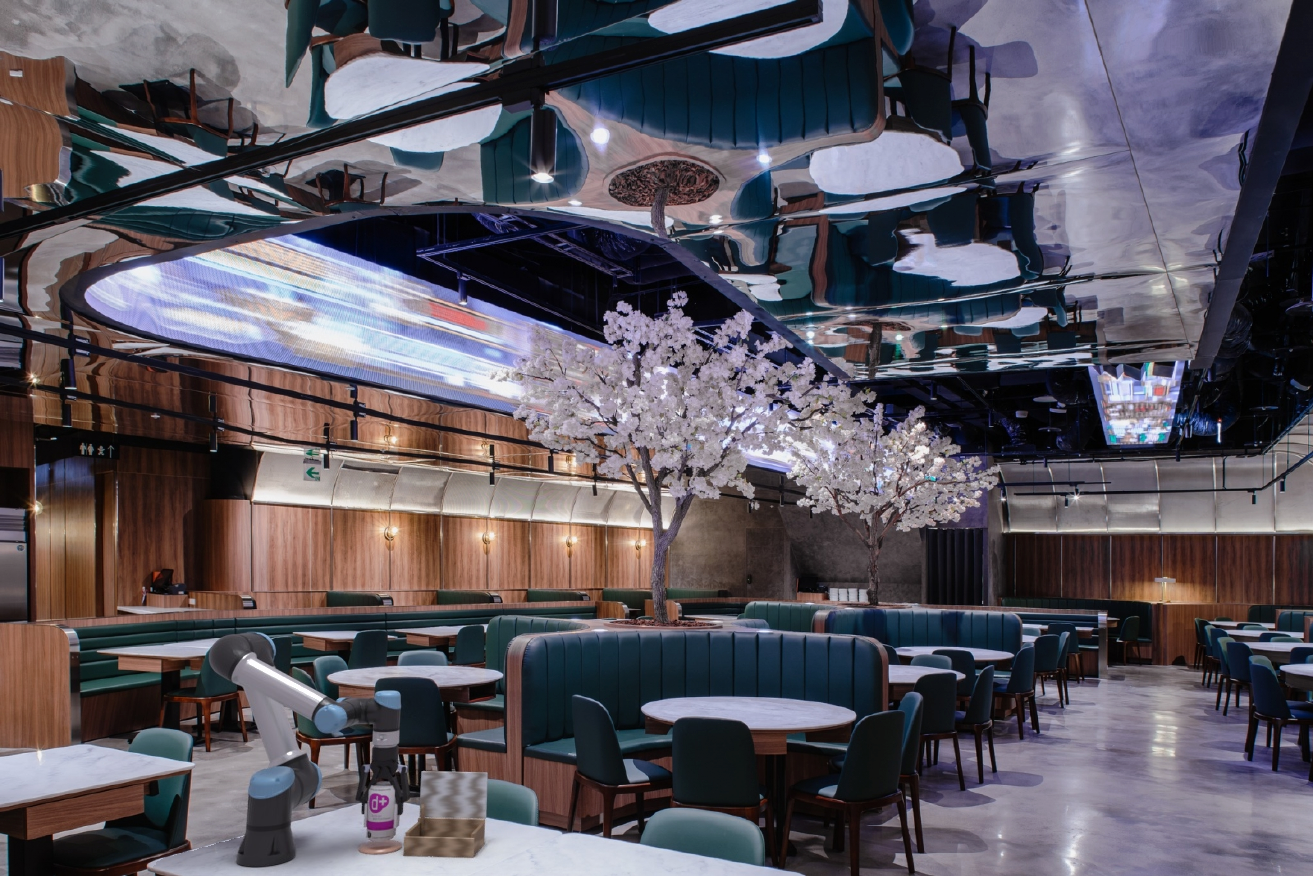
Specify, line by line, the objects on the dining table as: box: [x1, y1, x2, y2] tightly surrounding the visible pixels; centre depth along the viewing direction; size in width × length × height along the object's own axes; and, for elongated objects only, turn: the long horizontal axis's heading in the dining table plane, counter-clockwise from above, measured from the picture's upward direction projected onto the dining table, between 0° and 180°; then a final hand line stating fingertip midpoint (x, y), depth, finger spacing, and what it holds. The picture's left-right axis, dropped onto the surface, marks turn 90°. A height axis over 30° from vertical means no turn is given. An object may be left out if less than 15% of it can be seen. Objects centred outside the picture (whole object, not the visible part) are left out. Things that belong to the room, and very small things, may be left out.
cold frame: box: [402, 770, 488, 859], centre depth 260 cm, size 20×14×20 cm
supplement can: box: [366, 780, 397, 842], centre depth 261 cm, size 8×8×15 cm
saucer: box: [358, 839, 403, 856], centre depth 259 cm, size 12×12×1 cm
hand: (381, 826), depth 260 cm, fingers closed on supplement can, 8 cm apart
